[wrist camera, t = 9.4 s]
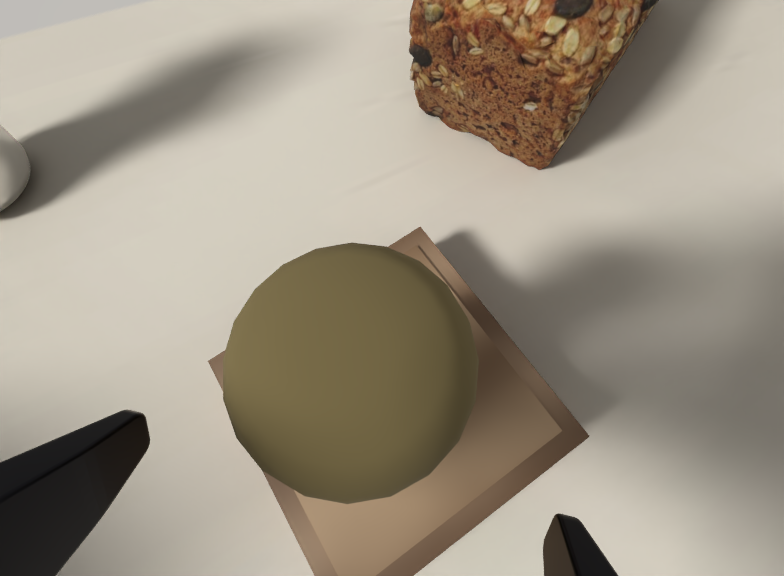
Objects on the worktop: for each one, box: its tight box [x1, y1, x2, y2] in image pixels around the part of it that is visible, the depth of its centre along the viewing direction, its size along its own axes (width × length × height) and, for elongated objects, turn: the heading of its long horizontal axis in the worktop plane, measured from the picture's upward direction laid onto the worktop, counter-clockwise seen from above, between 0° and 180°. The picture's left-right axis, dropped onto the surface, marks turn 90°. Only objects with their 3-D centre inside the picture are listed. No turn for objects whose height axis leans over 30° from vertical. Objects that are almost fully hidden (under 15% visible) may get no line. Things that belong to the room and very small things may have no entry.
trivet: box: [208, 227, 589, 576], centre depth 19 cm, size 12×12×3 cm
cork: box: [223, 243, 479, 504], centre depth 12 cm, size 6×6×11 cm
